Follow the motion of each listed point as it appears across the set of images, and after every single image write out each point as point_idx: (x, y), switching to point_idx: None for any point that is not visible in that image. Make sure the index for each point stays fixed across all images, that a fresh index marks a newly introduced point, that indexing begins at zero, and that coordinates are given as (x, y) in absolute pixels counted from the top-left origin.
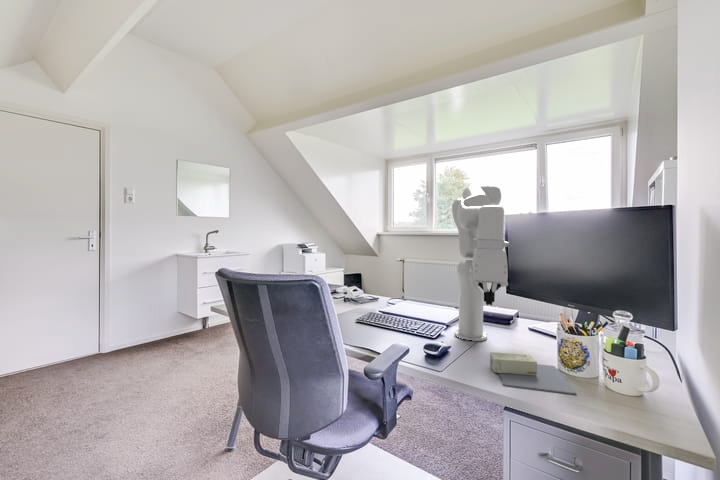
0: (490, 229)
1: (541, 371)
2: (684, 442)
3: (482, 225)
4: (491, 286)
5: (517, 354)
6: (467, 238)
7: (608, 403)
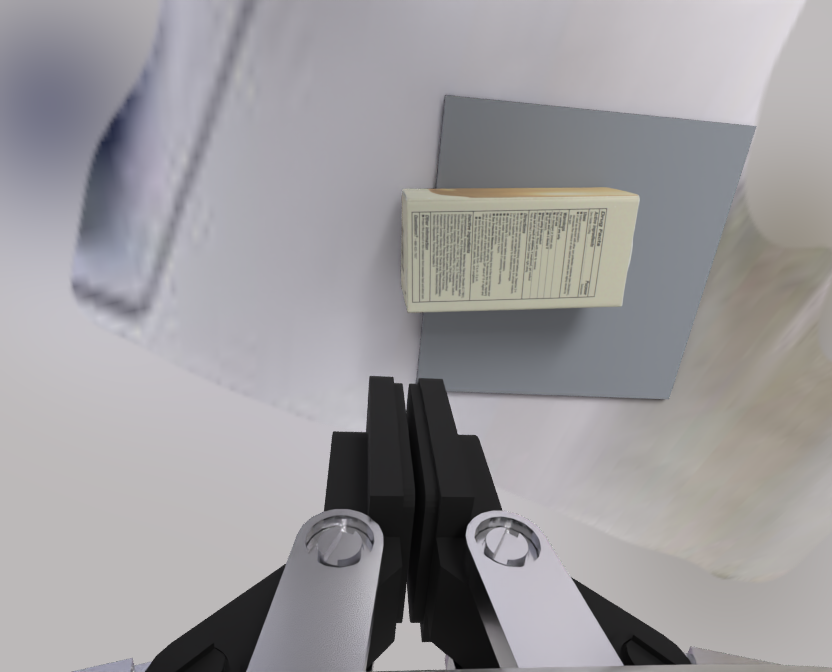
0: None
1: (643, 219)
2: (768, 561)
3: None
4: (485, 620)
5: (563, 213)
6: None
7: (734, 428)
